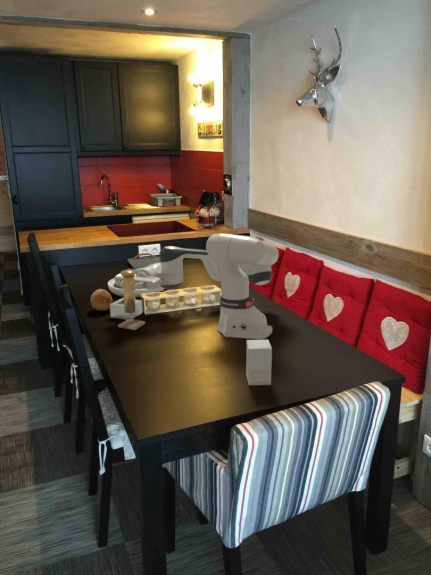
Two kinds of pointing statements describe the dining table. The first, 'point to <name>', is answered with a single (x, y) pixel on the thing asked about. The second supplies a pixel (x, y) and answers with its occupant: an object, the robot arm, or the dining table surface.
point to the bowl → (119, 290)
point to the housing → (118, 309)
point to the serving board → (143, 261)
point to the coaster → (131, 324)
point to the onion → (101, 300)
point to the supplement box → (258, 362)
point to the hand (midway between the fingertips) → (127, 286)
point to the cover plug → (128, 291)
